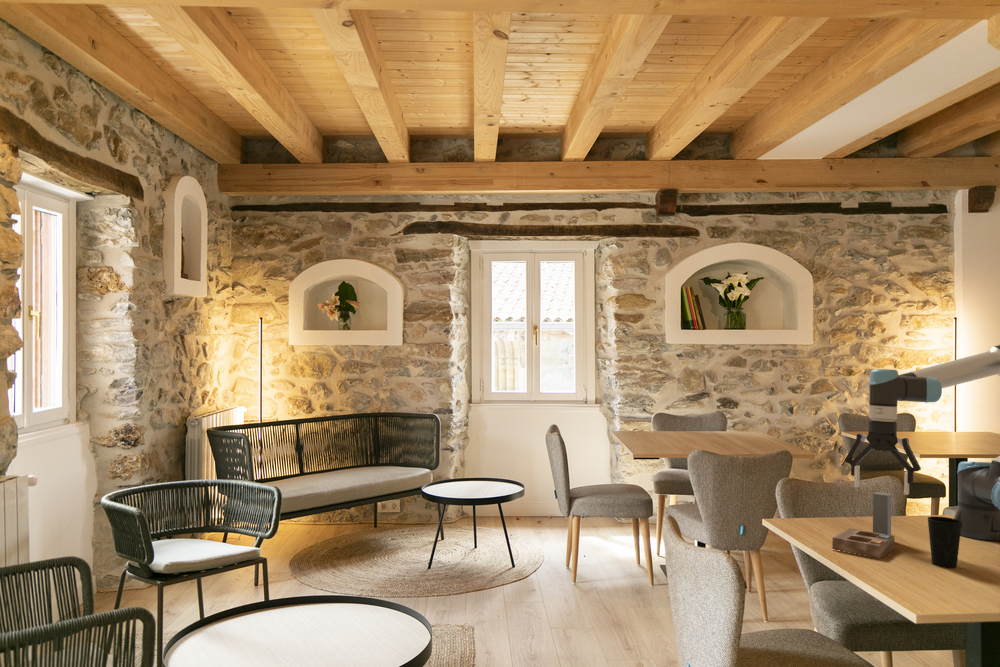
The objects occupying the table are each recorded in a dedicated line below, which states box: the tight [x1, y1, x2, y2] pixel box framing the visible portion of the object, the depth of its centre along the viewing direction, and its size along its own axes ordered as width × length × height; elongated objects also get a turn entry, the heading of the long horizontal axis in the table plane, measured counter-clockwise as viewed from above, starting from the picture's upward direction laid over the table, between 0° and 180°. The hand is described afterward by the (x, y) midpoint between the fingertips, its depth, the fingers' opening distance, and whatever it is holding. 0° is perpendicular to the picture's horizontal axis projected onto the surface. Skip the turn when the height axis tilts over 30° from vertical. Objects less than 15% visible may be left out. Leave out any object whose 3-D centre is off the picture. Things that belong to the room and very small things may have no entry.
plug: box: [872, 491, 892, 535], centre depth 211 cm, size 4×4×14 cm
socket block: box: [831, 527, 895, 559], centre depth 201 cm, size 12×16×4 cm
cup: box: [927, 516, 962, 569], centre depth 187 cm, size 8×8×12 cm
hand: (881, 490), depth 212 cm, fingers open, 13 cm apart
